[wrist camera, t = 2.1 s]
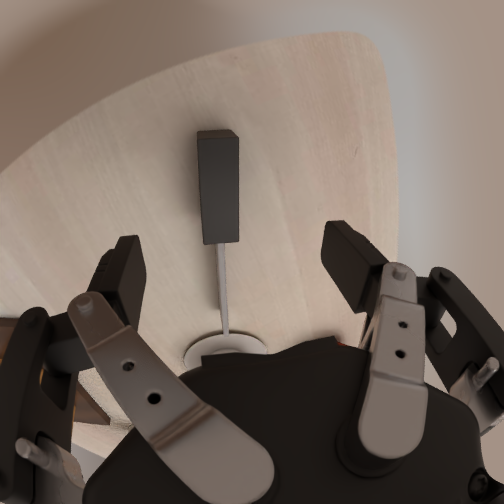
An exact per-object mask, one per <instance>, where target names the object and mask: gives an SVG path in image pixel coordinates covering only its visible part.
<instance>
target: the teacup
mask: <svg viewBox="0 0 504 504" xmlns="http://www.w3.org/2000/svg"><path fill="white" fill-rule="evenodd" d="M232 352H241V353H254V354H267V349H266V347H265V346H264V344H263V343H262V342H260V341H259V340H257V339H256V338H253V337H251V336H247V335H242V334H229V336H228V337H224V335H223V334H221V335H216V336H212V337H208V338H206V339H203V340H201V341H199V342H197V343H196V344H194V345H193V346H192V347H191V348H190V349H189V350H188V351H187V353H186V354H185V357H184V364H185V367H186V368H187V370H188V371H189V370H191V369H193V368H196V367H199V366H202V365H201V355H212V354H222V353H232Z"/></svg>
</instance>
